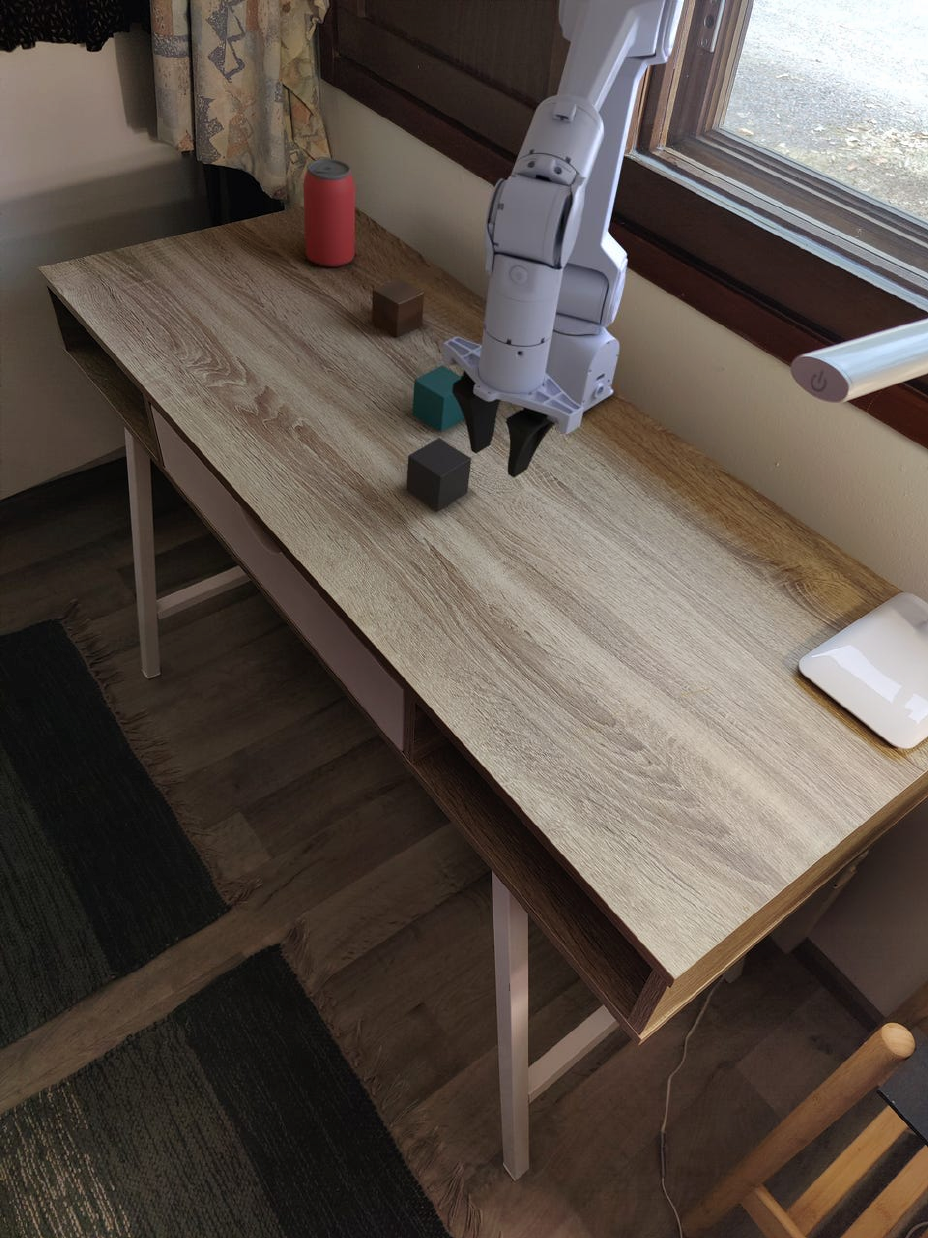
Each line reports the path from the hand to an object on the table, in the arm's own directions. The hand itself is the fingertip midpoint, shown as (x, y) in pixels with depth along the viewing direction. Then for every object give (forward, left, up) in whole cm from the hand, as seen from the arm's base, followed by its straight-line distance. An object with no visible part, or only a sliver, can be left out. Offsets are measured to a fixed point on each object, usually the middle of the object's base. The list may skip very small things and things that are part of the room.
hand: (498, 459), depth 89 cm
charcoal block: (+7, 0, -8) cm, 11 cm away
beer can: (+51, -25, -9) cm, 58 cm away
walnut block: (+33, -20, -8) cm, 40 cm away
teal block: (+16, -10, -8) cm, 21 cm away
